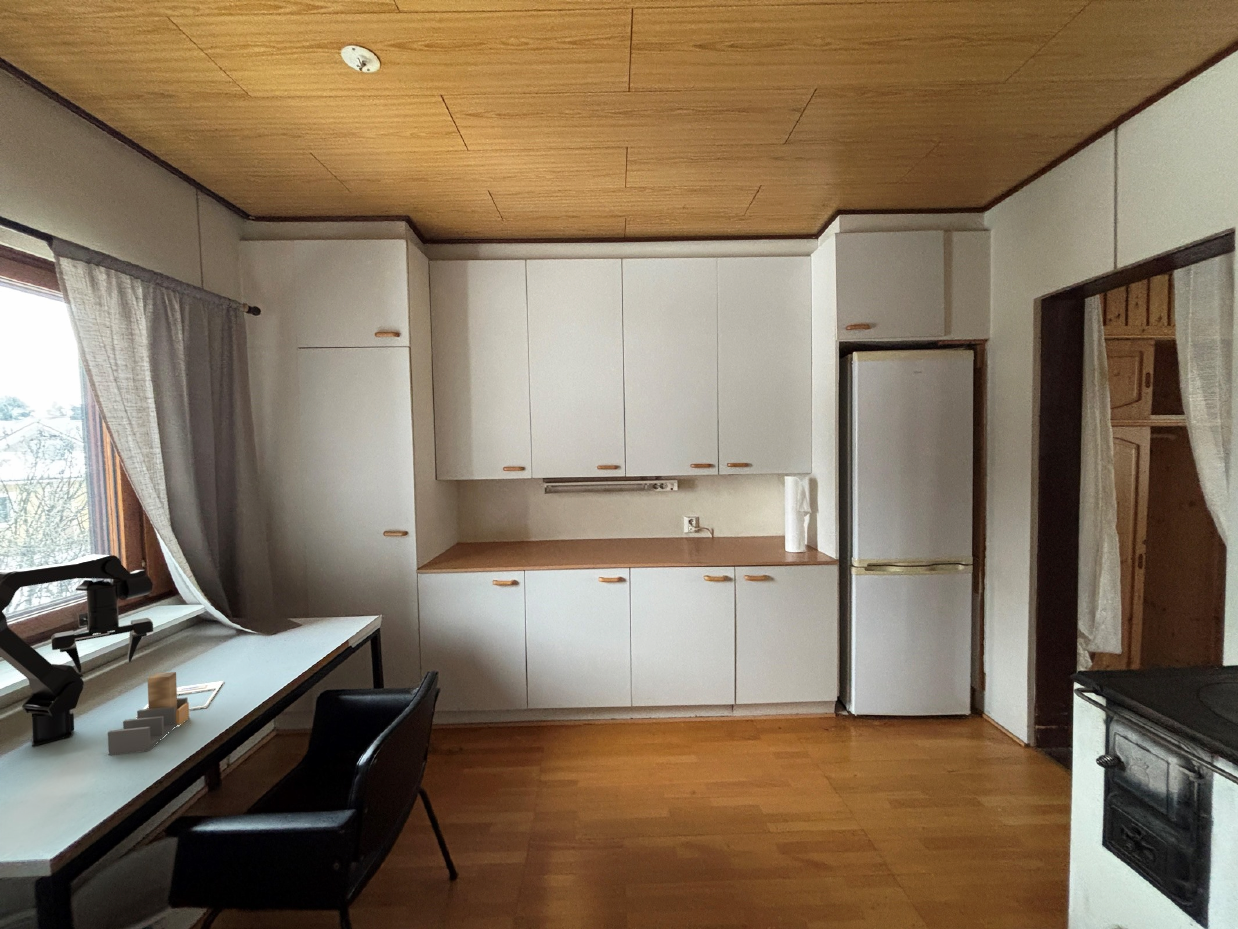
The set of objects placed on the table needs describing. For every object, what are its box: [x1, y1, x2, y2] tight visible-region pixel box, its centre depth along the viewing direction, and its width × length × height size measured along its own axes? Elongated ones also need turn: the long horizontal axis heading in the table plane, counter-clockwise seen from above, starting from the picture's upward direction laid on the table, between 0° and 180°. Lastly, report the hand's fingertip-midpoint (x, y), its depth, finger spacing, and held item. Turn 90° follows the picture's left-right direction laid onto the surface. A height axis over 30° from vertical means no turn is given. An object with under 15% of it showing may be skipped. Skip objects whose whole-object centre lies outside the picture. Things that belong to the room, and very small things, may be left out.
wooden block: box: [147, 671, 178, 710], centre depth 139 cm, size 4×3×11 cm, turn 102°
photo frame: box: [135, 680, 225, 719], centre depth 154 cm, size 15×1×18 cm
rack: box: [107, 697, 190, 756], centre depth 134 cm, size 8×16×5 cm, turn 12°
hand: (105, 667), depth 145 cm, fingers open, 9 cm apart
